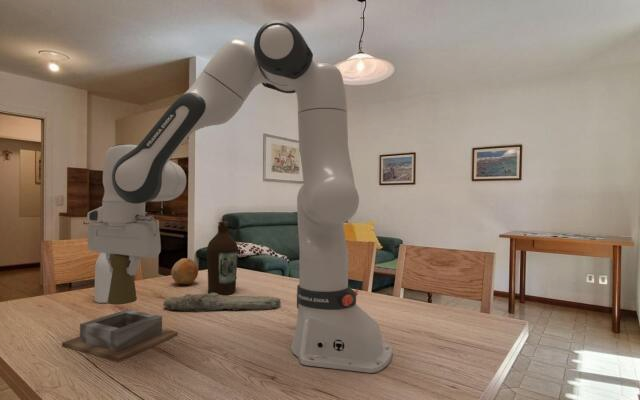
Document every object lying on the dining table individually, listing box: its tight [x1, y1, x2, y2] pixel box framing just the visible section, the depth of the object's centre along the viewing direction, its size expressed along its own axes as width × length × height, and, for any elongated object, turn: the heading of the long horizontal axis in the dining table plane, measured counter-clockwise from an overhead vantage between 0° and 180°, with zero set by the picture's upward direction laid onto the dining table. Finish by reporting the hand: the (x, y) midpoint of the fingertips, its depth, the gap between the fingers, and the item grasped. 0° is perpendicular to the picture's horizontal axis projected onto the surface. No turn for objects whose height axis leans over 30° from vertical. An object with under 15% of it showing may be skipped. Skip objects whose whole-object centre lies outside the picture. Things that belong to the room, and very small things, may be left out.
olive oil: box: [206, 221, 239, 296], centre depth 130 cm, size 11×11×25 cm
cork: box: [107, 254, 137, 305], centre depth 85 cm, size 6×6×11 cm
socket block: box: [61, 309, 179, 363], centre depth 85 cm, size 18×16×5 cm
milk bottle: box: [94, 252, 112, 304], centre depth 118 cm, size 8×8×20 cm
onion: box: [170, 257, 199, 286], centre depth 140 cm, size 10×10×10 cm
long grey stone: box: [163, 293, 282, 313], centre depth 112 cm, size 35×5×10 cm
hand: (123, 273), depth 85 cm, fingers closed on cork, 4 cm apart
